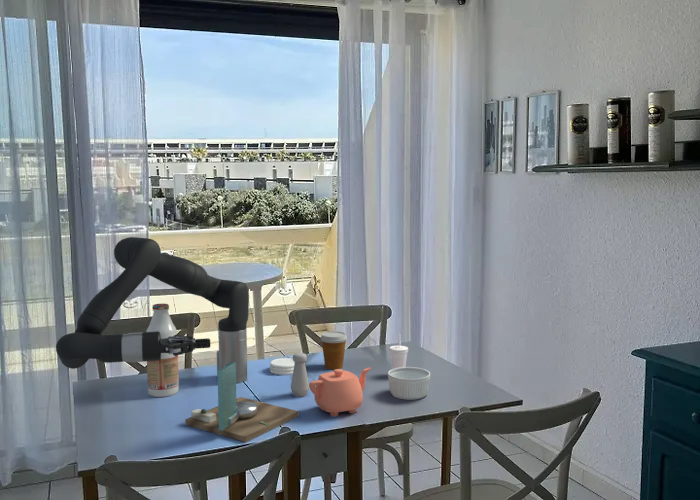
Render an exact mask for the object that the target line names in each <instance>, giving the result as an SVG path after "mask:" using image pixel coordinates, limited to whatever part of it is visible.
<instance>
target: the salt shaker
mask: <svg viewBox="0 0 700 500" xmlns="http://www.w3.org/2000/svg"><path fill="white" fill-rule="evenodd" d="M292 359H293V361H294V362H295V364H294V370H293V374H292V376H291V383H290V391H291V392H292V395H293V396H295V397H297V398H298V397H299V398H301V397H305V396H307V394H308V392H309V390H310V388H309V383H310V382H309V378H308V374H307V368H306V367H307V366H306V362H307V360H308V356H307V354H306V353H304V352H296V353H294V354H293V355H292Z"/></svg>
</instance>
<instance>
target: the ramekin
mask: <svg viewBox="0 0 700 500" xmlns="http://www.w3.org/2000/svg"><path fill="white" fill-rule="evenodd" d="M387 378H388V385H389V391H390V394H391V395H392V396H393V397H395V398H396V399H400V400H406V401H407V400H408V401H415V400H419V399H423V398H424V397H426V396H427V395H428V392H429V387H430V379H431V372H430V371H429V370H427V369H425V368H421V367H415V366H414V367H413V366H405V367H400V368H395V369H390V370H389V371H388V372H387Z"/></svg>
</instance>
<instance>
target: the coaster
mask: <svg viewBox="0 0 700 500" xmlns="http://www.w3.org/2000/svg"><path fill="white" fill-rule="evenodd" d="M294 364H295V362H294V361H293V358H288V357H285V358H284V357H283V358H282V357H280V358H274V359H272V360H271V361H270V362H269V371H270V373H271V374H273V375H279V376H288V375H293V370H294Z"/></svg>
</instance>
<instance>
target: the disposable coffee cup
mask: <svg viewBox="0 0 700 500" xmlns="http://www.w3.org/2000/svg"><path fill="white" fill-rule="evenodd" d="M347 340H348V337H347V333H346V332H343V331H337V330H336V331H333V330H332V331H324V332H322V333H321V336H320V342H321V345H322V354H323V362H324V369H326V370H333V371H334V370H335V369H343V367H344V358H345V351H346V342H347Z"/></svg>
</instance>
